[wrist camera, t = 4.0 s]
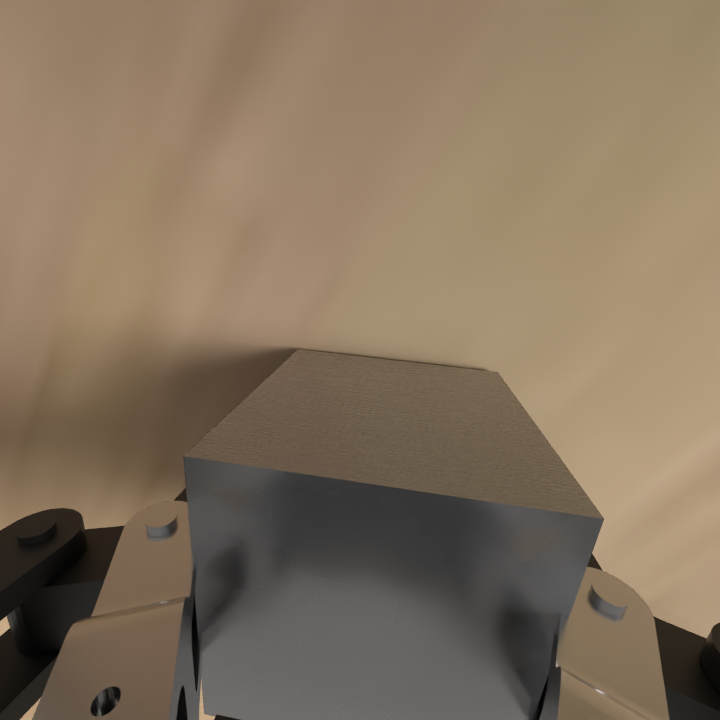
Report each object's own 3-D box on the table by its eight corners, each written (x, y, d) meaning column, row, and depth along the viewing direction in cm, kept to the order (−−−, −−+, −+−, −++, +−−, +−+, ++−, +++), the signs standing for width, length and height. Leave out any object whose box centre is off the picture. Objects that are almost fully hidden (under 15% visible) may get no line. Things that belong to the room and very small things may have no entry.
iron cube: (497, 372, 11) (604, 519, 5) (462, 535, 12) (510, 781, 7) (298, 349, 11) (183, 456, 5) (293, 508, 13) (204, 713, 7)
